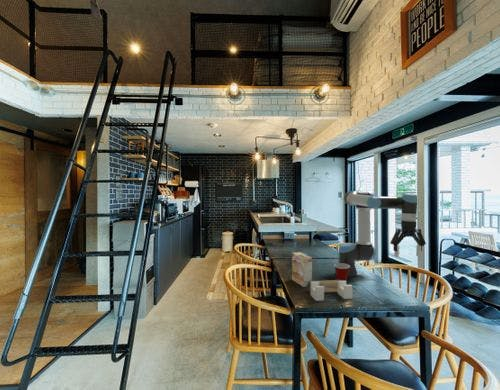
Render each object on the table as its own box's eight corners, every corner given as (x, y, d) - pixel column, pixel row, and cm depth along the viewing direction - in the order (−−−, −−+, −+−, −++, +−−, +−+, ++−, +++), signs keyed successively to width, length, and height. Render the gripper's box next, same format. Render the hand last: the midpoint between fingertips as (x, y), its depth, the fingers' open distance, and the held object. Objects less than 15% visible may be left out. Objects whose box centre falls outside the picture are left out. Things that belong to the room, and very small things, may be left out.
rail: (307, 290, 159) (307, 281, 159) (339, 288, 162) (339, 279, 162) (309, 293, 155) (310, 283, 155) (342, 291, 158) (342, 282, 158)
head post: (310, 294, 152) (310, 282, 152) (318, 294, 153) (318, 281, 153) (315, 300, 145) (316, 287, 144) (323, 300, 145) (324, 286, 145)
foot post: (337, 293, 155) (338, 280, 155) (345, 293, 156) (345, 280, 156) (344, 299, 147) (344, 285, 147) (352, 298, 148) (352, 285, 148)
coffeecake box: (291, 279, 178) (292, 252, 178) (300, 278, 181) (300, 251, 180) (303, 287, 164) (303, 258, 164) (312, 286, 167) (312, 257, 166)
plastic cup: (330, 279, 179) (330, 263, 179) (344, 278, 181) (344, 262, 181) (338, 285, 169) (338, 267, 168) (352, 284, 170) (353, 267, 170)
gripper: (392, 221, 139) (391, 258, 140) (434, 221, 141) (432, 258, 142) (384, 219, 146) (383, 254, 147) (424, 219, 148) (422, 254, 149)
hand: (407, 256), depth 144 cm, fingers open, 13 cm apart
